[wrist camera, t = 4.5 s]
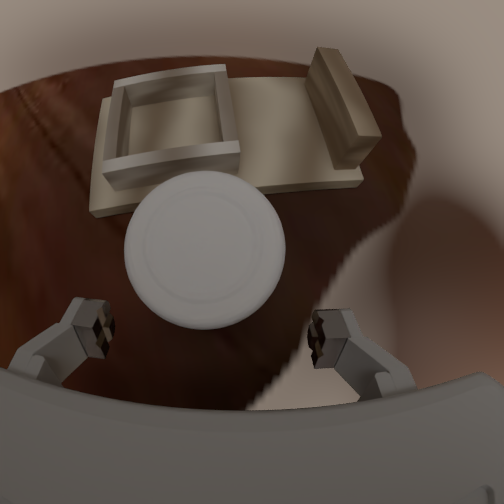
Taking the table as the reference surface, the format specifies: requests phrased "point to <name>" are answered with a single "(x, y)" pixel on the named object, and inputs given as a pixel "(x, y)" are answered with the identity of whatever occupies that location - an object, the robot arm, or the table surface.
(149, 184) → the caddy
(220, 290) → the sprinkles bottle
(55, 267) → the table surface
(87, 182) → the table surface
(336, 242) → the table surface
